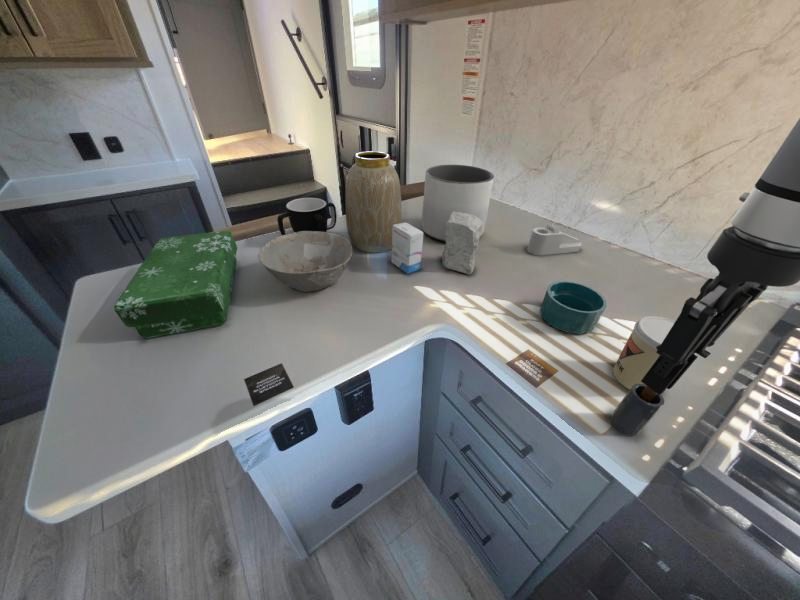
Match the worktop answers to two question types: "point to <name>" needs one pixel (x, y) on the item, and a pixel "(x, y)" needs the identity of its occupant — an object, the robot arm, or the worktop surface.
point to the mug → (308, 215)
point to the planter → (454, 196)
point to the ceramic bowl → (307, 259)
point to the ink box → (407, 247)
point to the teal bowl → (572, 307)
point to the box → (181, 285)
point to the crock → (635, 411)
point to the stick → (647, 394)
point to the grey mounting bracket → (551, 241)
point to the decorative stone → (461, 242)
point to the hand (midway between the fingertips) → (656, 384)
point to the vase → (372, 201)
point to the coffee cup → (641, 350)
